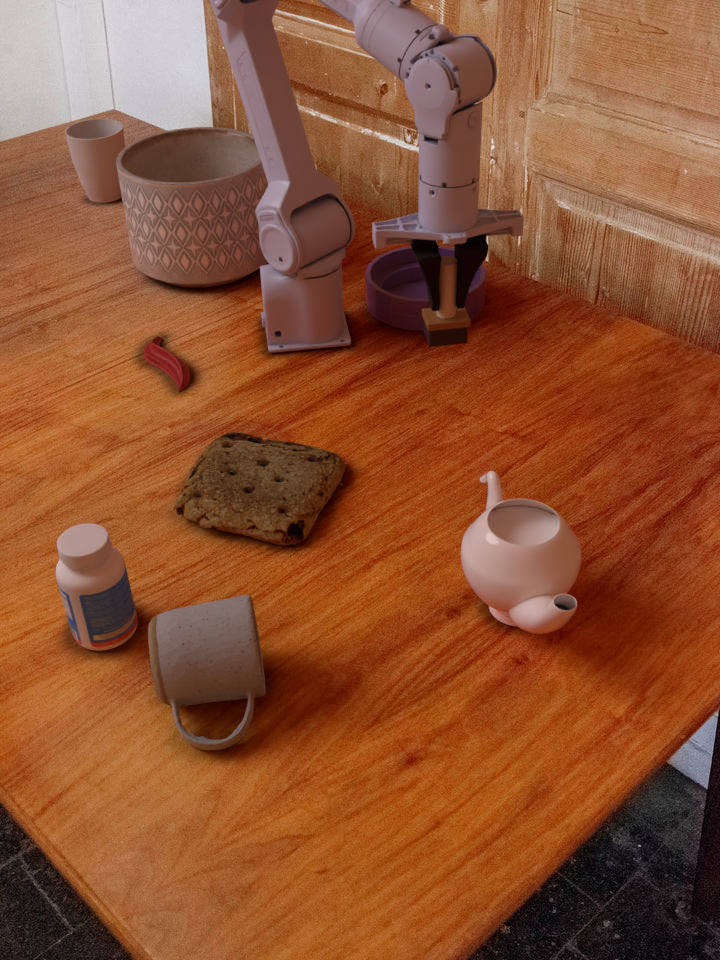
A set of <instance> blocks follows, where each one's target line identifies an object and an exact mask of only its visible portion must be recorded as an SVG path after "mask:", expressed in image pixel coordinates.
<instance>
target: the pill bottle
mask: <svg viewBox="0 0 720 960" xmlns="http://www.w3.org/2000/svg"><path fill="white" fill-rule="evenodd" d="M56 548H57V553H58V557H59V560H58V562H57V564H56V565H55V566H56V567H55V579H56V582H57V583H56V584H57V586H58V590H59V594H60V597H61V600H62V604H63V607H64V611H65V615H66V618H67V622H68V626H69V628H70V632H71V634H72V635H71V636H72V637H73V639H74V640H75V642H76V643H77V644H78V645H79V646H81V647H82V648H84V649H87V650H90V651H97V652H102V651H109V650H111V649H115V648H117V647H119V646H121V645H123V644H125V643H126V642H127V641H128V640H130V639H131V638H132V637H133V635H134V634H135V632H136V630H137V628H138V620H139V619H138V615H137V609H136V605H135V602H134V598H133V593H132V588H131V583H130V579H129V574H128V570H127V566H126V562H125V559H124V556H123V553H122V552H121V551H120V550H119V549H117V548H116V547H115V546H114V545H112V541H111V538H110V535H109V532H108V530H107V529H106V528H105V527H104V526H102V525H101V524H97V523H93V522H91V523H90V522H89V523H79V524H75V525H73V526H71V527H69V528H67V529H66V530H64V531H63V532H62V533H61V534H60V535H59V537H58V538H57V540H56Z"/></svg>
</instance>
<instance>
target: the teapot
mask: <svg viewBox="0 0 720 960" xmlns="http://www.w3.org/2000/svg"><path fill="white" fill-rule="evenodd" d="M479 482H480V483H482V484H485V485H487V497H486V504H485V510H483V511H482V513H481V514H480V515H478V516H477V517H476V519H474V521H473V522H471V524H470V525H468V527H467V528H466V530H465V531H464V534H463V536H462V539H461V543H460V563H461V569H462V572H463V574H464V575H463V576H464V577H465V580H466V582H467V583H468V585H469V586H470V588H471V590H472V591H473V593H475V595H476V596H477V597H478V598H479V600H481V601H482V602H483V603H484V604H486V605H487V606H488V609H489V612H490V614H491V615H492V616H493V617H494V618H495V620H496V621H499V622H500V623H502V624H504V625H507V626H512V627H518V628H519V629H520V630H522V631H525V632H527V633H530V634H535V635H543V634H549V633H553V632H555V631H558V630H560V629H561V628H563V627H564V626H565V625H567V623H568V622H569V621H570V620H571V619H572V617H573V615H574V614H575V613H576V611H577V609H578V601H577V599H576V598H575V596H573V595H571V594H569V592H570V590H571V589H572V588H573V586H574V585H575V583H576V580H577V578H578V577H579V573H580V570H581V566H582V565H581V564H582V555H583V554H582V546H581V543H580V541H579V538H578V536H577V534H576V533H575V531H574V530H573V529H572V527H571V525H570V524H569V522H567V520H566V518H564V516H563V515H562V514H561V513H560V512H559V511H557V510H556V509H555V508H554V507H552V506H550V505H549V504H546V503H544V502H542V501H539V500H535V499H531V498H522V497H521V498H509V499H504V495H503V490H502V482H501V478H500V475H499V473H498V472H497V471H495V470H489V471H487V472H486V473H484V474H483V475H481V476H480V477H479Z"/></svg>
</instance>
